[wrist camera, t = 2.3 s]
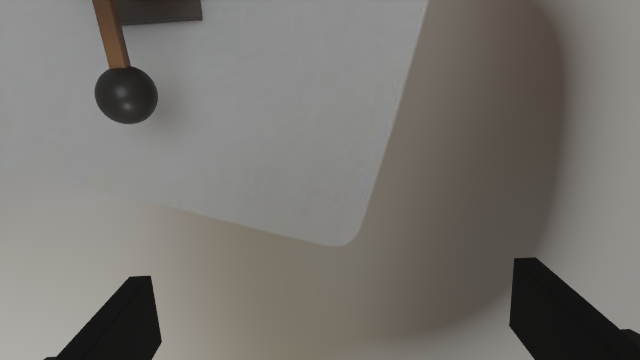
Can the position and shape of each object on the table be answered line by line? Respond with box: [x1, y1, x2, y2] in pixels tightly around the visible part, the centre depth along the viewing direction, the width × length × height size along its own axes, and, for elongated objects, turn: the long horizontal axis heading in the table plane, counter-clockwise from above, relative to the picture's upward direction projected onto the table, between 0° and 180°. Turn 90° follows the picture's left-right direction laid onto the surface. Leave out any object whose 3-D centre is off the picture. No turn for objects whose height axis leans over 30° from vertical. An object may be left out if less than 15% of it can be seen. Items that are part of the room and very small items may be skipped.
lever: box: [92, 0, 158, 124], centre depth 27 cm, size 15×4×4 cm, turn 4°
